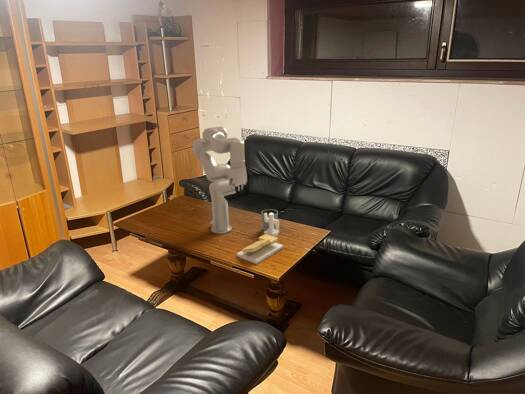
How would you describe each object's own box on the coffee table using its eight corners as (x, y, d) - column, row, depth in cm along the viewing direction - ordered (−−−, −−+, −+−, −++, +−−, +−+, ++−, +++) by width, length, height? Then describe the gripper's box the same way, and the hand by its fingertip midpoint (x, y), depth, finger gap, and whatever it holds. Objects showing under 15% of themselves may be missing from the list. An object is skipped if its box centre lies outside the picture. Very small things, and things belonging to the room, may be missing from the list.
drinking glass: (276, 234, 235) (276, 215, 231) (260, 232, 237) (259, 214, 232) (279, 227, 244) (279, 209, 240) (263, 226, 246) (263, 208, 242)
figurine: (276, 240, 226) (275, 216, 221) (261, 237, 230) (261, 214, 225) (281, 236, 232) (281, 212, 227) (267, 233, 236) (267, 210, 231)
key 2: (251, 248, 213) (250, 244, 213) (258, 244, 217) (257, 240, 217) (263, 246, 206) (262, 242, 206) (270, 242, 211) (269, 239, 211)
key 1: (258, 240, 218) (258, 237, 217) (265, 236, 222) (265, 233, 221) (271, 244, 212) (271, 241, 211) (278, 240, 216) (278, 237, 216)
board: (236, 256, 209) (236, 249, 208) (264, 241, 226) (264, 235, 225) (256, 264, 201) (256, 257, 200) (283, 247, 217) (283, 241, 216)
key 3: (242, 252, 208) (241, 249, 208) (250, 248, 212) (249, 245, 212) (254, 251, 201) (253, 248, 201) (262, 247, 206) (260, 243, 206)
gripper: (242, 160, 213) (243, 192, 219) (222, 166, 202) (224, 199, 209) (252, 162, 209) (253, 194, 215) (232, 168, 198) (234, 202, 204)
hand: (239, 196), depth 212 cm, fingers closed
